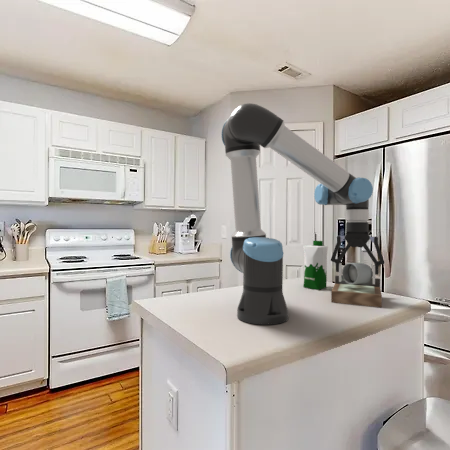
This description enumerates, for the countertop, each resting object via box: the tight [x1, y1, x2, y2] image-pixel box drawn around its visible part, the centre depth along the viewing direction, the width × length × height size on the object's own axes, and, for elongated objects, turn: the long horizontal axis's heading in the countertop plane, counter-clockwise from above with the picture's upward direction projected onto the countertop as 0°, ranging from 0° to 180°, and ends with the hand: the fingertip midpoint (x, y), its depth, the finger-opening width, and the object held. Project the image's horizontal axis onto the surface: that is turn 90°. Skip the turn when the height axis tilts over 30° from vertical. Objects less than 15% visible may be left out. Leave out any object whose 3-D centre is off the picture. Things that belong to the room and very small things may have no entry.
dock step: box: [330, 275, 383, 308], centre depth 118 cm, size 16×16×7 cm
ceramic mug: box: [342, 262, 373, 285], centre depth 118 cm, size 11×8×8 cm
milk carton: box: [302, 240, 329, 291], centre depth 138 cm, size 9×9×20 cm
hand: (356, 282), depth 117 cm, fingers closed on ceramic mug, 11 cm apart
